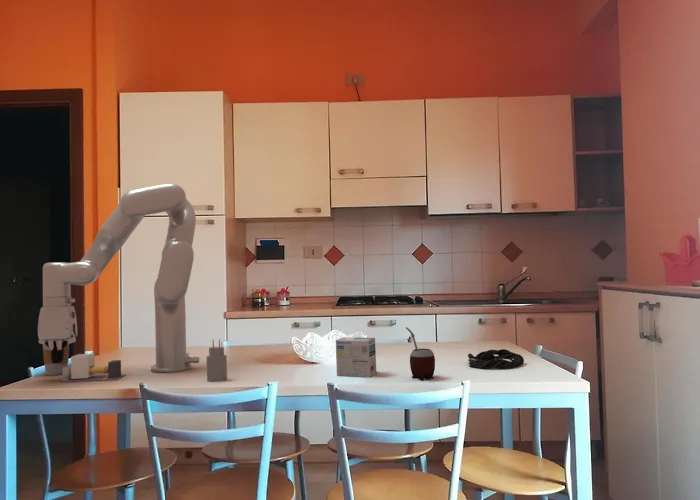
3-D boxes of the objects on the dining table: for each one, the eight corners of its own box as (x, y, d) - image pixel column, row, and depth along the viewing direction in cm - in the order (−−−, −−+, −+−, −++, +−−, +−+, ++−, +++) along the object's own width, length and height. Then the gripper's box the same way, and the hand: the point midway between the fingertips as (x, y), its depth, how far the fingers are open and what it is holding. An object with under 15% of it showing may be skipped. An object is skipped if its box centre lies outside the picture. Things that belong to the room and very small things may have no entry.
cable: (519, 361, 174) (519, 348, 174) (530, 370, 160) (529, 355, 160) (466, 362, 176) (465, 349, 176) (471, 371, 162) (470, 356, 162)
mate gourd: (436, 375, 155) (434, 323, 155) (434, 382, 147) (432, 327, 147) (410, 375, 156) (408, 323, 157) (407, 381, 149) (405, 327, 149)
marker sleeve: (94, 374, 167) (94, 353, 167) (88, 378, 163) (87, 356, 163) (78, 375, 167) (78, 354, 167) (71, 378, 162) (71, 356, 162)
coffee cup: (58, 376, 170) (57, 328, 171) (35, 376, 172) (35, 328, 172) (76, 371, 178) (76, 325, 179) (54, 370, 180) (54, 325, 180)
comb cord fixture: (125, 375, 169) (125, 359, 169) (116, 380, 162) (116, 363, 162) (70, 377, 168) (70, 360, 168) (59, 382, 161) (59, 365, 161)
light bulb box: (377, 373, 161) (376, 336, 162) (370, 377, 155) (369, 340, 155) (343, 371, 165) (342, 336, 165) (335, 376, 159) (334, 339, 159)
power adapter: (209, 379, 159) (208, 338, 159) (227, 379, 159) (226, 338, 159) (206, 381, 156) (205, 340, 156) (224, 381, 156) (223, 339, 156)
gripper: (87, 301, 169) (87, 359, 169) (38, 302, 168) (39, 361, 168) (76, 302, 162) (76, 364, 161) (25, 304, 161) (25, 365, 160)
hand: (57, 362), depth 164 cm, fingers closed
